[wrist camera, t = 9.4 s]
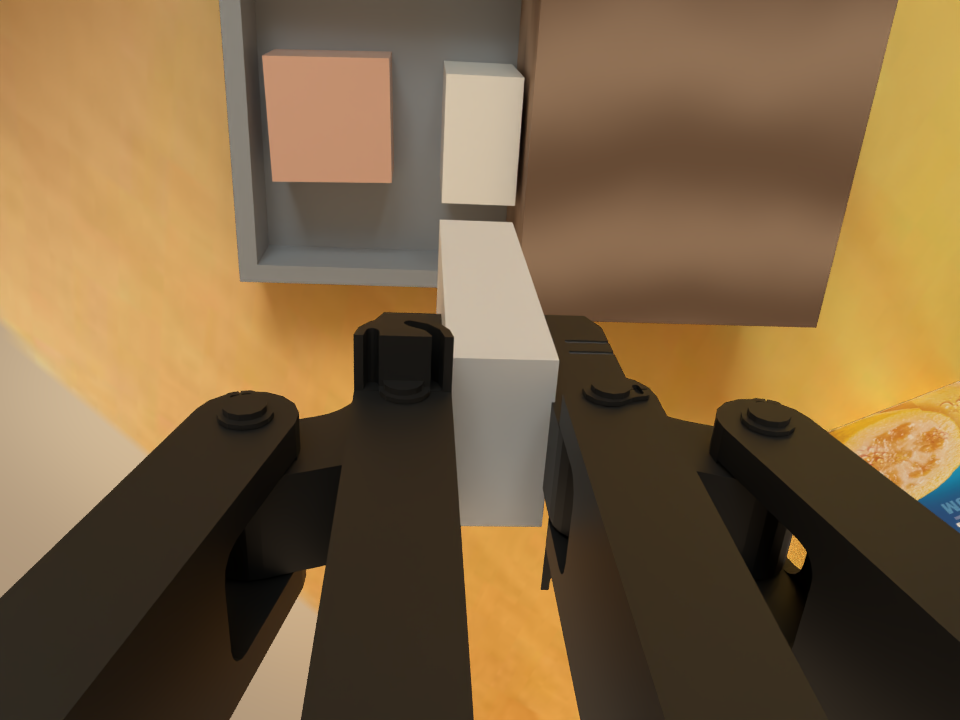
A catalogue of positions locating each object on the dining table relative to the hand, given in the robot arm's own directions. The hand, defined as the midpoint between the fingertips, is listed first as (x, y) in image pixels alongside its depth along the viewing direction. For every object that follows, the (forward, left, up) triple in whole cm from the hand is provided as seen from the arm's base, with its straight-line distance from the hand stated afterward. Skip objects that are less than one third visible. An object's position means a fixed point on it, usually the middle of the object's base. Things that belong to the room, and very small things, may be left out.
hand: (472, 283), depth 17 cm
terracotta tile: (0, -5, -19) cm, 19 cm away
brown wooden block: (0, +9, -22) cm, 24 cm away
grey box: (0, -3, -22) cm, 23 cm away
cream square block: (0, +3, -19) cm, 19 cm away
